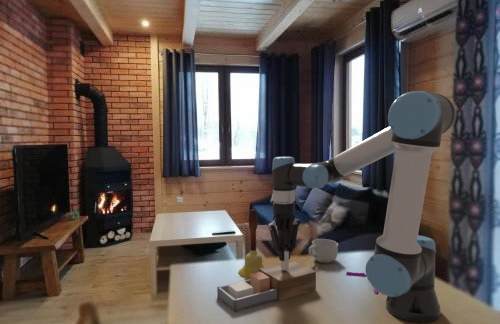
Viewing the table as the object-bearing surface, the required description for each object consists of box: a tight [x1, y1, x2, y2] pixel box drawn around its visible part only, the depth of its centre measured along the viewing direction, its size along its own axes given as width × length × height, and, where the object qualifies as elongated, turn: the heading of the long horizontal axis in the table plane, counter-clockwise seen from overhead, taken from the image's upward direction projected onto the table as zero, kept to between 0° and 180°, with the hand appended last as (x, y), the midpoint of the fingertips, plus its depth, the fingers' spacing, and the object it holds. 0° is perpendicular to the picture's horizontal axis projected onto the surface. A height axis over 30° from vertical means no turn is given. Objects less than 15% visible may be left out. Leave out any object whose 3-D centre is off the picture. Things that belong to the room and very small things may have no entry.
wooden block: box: [259, 260, 317, 301], centre depth 132 cm, size 13×15×6 cm
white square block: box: [227, 280, 253, 299], centre depth 124 cm, size 6×6×4 cm
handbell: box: [237, 208, 265, 280], centre depth 146 cm, size 12×12×25 cm
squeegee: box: [345, 271, 379, 295], centre depth 142 cm, size 29×2×10 cm
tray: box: [216, 279, 278, 313], centre depth 125 cm, size 12×16×4 cm
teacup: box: [308, 238, 339, 264], centre depth 159 cm, size 14×11×8 cm
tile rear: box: [250, 272, 270, 294], centre depth 127 cm, size 6×6×4 cm
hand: (284, 269), depth 131 cm, fingers closed
